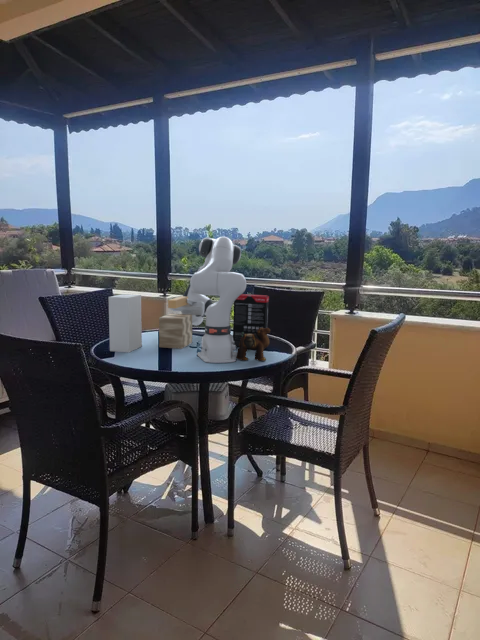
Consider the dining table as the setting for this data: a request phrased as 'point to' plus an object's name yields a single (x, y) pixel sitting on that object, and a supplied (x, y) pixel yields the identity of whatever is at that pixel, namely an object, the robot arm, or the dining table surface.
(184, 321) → the pedestal
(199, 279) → the robot arm
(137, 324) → the stand
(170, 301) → the bar
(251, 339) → the figurine
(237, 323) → the graphics card box
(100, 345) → the dining table surface
